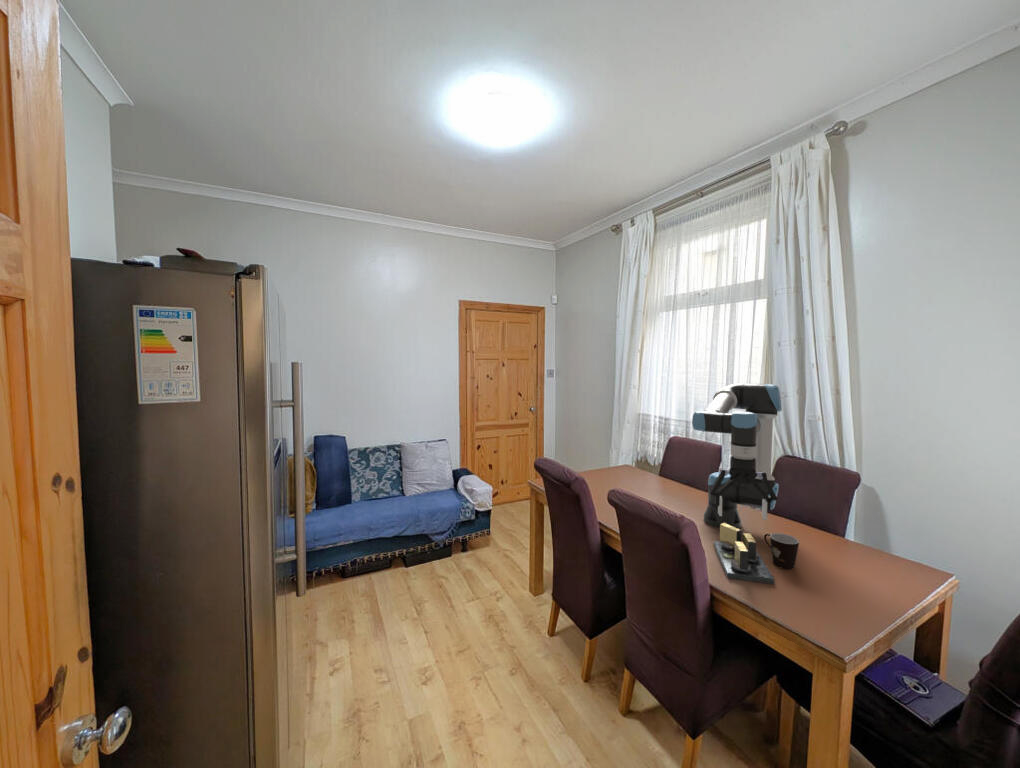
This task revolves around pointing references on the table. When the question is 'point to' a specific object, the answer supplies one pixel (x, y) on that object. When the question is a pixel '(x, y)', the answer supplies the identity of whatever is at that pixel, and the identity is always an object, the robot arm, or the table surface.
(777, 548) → the coffee mug
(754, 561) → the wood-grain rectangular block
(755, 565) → the levelling plate
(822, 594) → the table surface
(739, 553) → the tan bar handle
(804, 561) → the table surface
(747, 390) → the robot arm
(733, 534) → the tan block-handled knob
